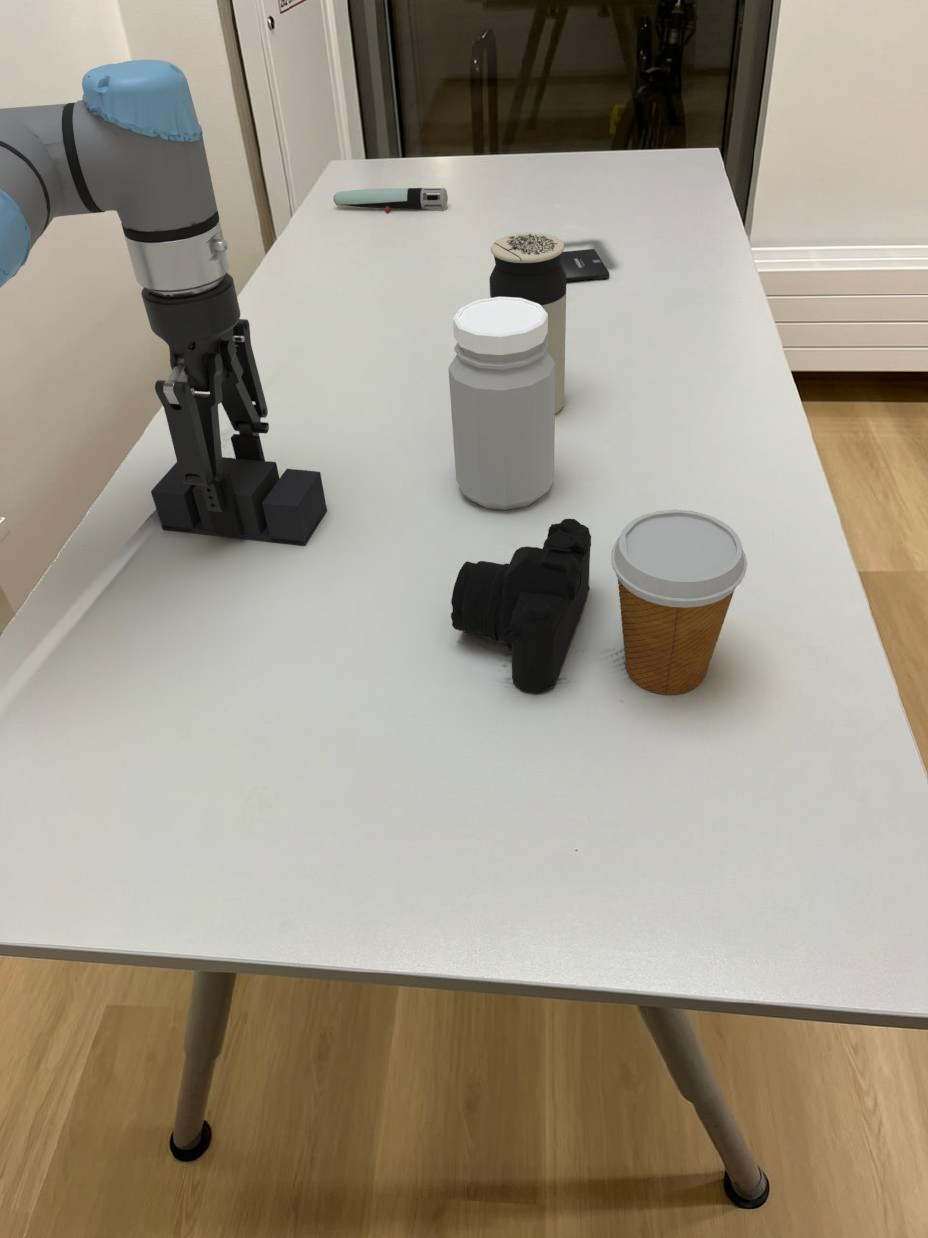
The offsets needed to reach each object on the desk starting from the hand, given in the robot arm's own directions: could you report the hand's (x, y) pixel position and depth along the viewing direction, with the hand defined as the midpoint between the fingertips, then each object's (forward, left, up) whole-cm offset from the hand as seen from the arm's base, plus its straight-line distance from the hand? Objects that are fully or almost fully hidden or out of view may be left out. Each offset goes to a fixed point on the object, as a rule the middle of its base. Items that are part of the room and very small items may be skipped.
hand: (244, 512), depth 93 cm
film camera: (+30, -11, -1) cm, 32 cm away
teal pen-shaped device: (-14, +91, -1) cm, 92 cm away
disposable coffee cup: (+42, -13, -1) cm, 44 cm away
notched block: (0, 0, -1) cm, 1 cm away
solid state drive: (+22, +68, -1) cm, 71 cm away
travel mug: (+23, +27, -1) cm, 35 cm away
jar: (+24, +10, -1) cm, 26 cm away
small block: (0, 0, 0) cm, 0 cm away
